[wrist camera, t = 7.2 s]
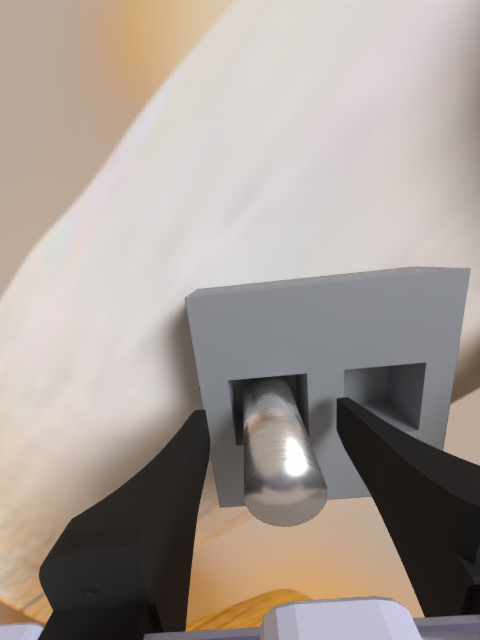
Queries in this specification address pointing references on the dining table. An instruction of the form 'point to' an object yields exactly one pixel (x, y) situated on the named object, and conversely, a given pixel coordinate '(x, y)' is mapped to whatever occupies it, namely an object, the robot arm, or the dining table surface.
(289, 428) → the pin
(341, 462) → the hole block
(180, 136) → the dining table surface
